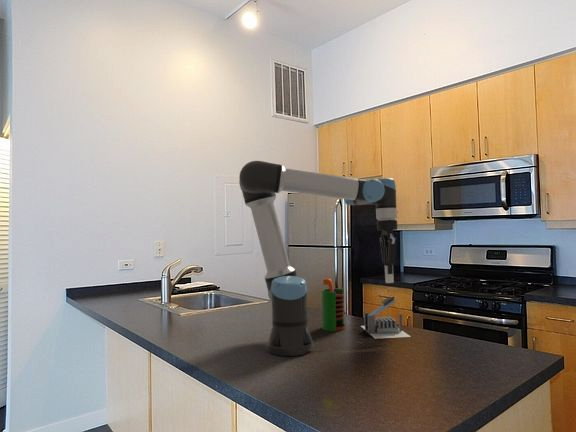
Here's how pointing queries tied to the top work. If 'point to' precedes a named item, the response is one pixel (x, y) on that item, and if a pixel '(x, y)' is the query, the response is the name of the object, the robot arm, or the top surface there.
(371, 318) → the mount
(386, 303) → the grey-blue slender bar
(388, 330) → the heatsink
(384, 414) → the top surface
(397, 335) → the board
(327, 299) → the motor
